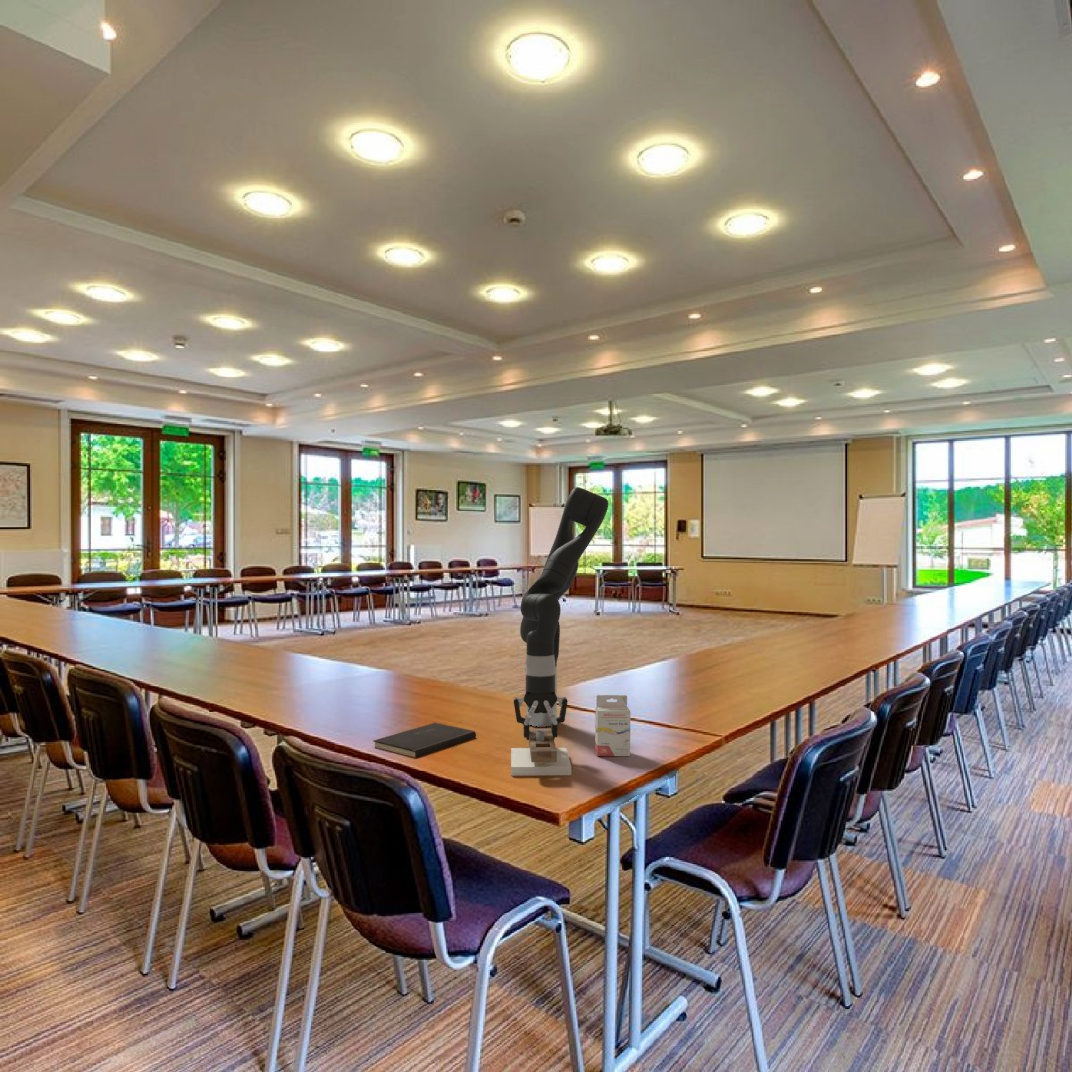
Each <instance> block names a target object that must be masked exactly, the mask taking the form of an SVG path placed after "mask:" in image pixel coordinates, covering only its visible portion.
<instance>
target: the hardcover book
mask: <svg viewBox="0 0 1072 1072" xmlns="http://www.w3.org/2000/svg"><path fill="white" fill-rule="evenodd" d="M475 737H476V738H477V732H476V731H475V730H470V729H467V728H462V727H457V726H453V725H448V724H443V723H438V722H432V723H428V724H425V725H422V726H418V727H415V728H412V729H408V730H405V731H402V732H398V733H395V734H390V735H388V736H385V737H381V738H377V739H374V740H373V742H374V748H377V749H381V750H386V751H389V752H393V753H397V754H399V755H400V754H401V755H405V756H408V757H412V758H415V759H417V758H420V757H422V756H427V755H429V754H432V753H435V752H437V751H441V750H445V749H446V748H449V747H452V746H453V747H454V746H455V745H458V744H461V743H464V742H467V741H470V739H471V740H473V739H472V738H474V739H476V738H475Z"/></svg>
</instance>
